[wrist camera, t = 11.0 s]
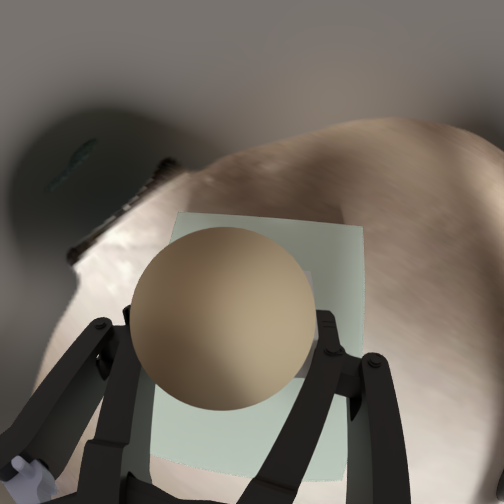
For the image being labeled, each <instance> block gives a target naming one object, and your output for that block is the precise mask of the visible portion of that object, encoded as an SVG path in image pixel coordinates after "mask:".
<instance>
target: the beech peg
mask: <svg viewBox="0 0 504 504" xmlns="http://www.w3.org/2000/svg"><path fill="white" fill-rule="evenodd" d="M315 325H316V310H315V303H314V297H313V294H312V290H311V287H310V284H309V282H308V280H307V277H306V275H305V274H304V272H303V270H302V269H301V267H300V266H299V264H298V263H297V262H296V261H295V259H294V258H293V257H292V256H291V255H290V254H289V253H288V252H287V251H286V250H285V249H284V248H283V247H281V246H280V245H279V244H277V243H276V242H275V241H273V240H271V239H269V238H267V237H266V236H264V235H261V234H259V233H256V232H254V231H250V230H246V229H242V228H235V227H214V228H207V229H202V230H198V231H195V232H192V233H189V234H187V235H185V236H183V237H181V238H179V239H177V240H175V241H174V242H172V243H171V244H169V245H168V246H166V247H165V248H164V249H163V250H162V251H160V252H159V253H158V254H157V255H156V256H155V257H154V259H153V260H152V261H151V262H150V263H149V265H148V266H147V267H146V269H145V270H144V272H143V274H142V275H141V277H140V279H139V281H138V284H137V286H136V288H135V291H134V295H133V298H132V303H131V309H130V331H131V338H132V342H133V346H134V349H135V352H136V354H137V357H138V359H139V361H140V363H141V365H142V366H143V368H144V370H145V371H146V372H147V374H148V375H149V377H150V378H151V379H152V380H153V381H154V382H155V383H156V384H157V385H158V386H159V387H160V388H161V389H162V390H164V391H165V392H166V393H167V394H169V395H170V396H172V397H174V398H175V399H177V400H179V401H181V402H183V403H185V404H188V405H190V406H193V407H197V408H201V409H206V410H213V411H230V410H237V409H243V408H246V407H250V406H253V405H256V404H258V403H260V402H262V401H265V400H267V399H268V398H270V397H271V396H273V395H275V394H276V393H278V392H279V391H280V390H281V389H282V388H284V387H285V386H286V385H287V384H288V383H289V382H290V381H291V380H292V379H293V377H294V376H295V375H296V374H297V373H298V371H299V370H300V368H301V367H302V365H303V363H304V362H305V360H306V358H307V355H308V353H309V351H310V348H311V345H312V342H313V338H314V332H315Z"/></svg>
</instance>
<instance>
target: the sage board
mask: <svg viewBox="0 0 504 504" xmlns="http://www.w3.org/2000/svg"><path fill="white" fill-rule="evenodd" d="M214 227H235V228H242V229H246V230H250V231H254V232H256V233H259V234H261V235H264V236H266V237H267V238H269V239H271V240H273V241H275V242H276V243H277V244H279V245H280V246H281V247H283V248H284V249H285V250H286V251H287V252H288V253H289V254H290V255H291V256H292V257H293V258H294V259H295V261H296V262H297V263H298V264H299V266H300V267H301V269H302V270H303V271H311V276H312V283H313V291H314V300H315V308H316V310H330V311H331V312H332V313H333V315H334V316H335V320H336V325H337V330H338V335H339V340H340V345H341V346H343V347H344V349H345V352H346V353H347V354H349V355H352V356H355V357H358V358H362V350H363V333H364V303H365V274H364V243H363V227H361V226H352V225H343V224H333V223H324V222H313V221H303V220H292V219H280V218H268V217H255V216H241V215H226V214H210V213H192V212H178V214H177V218H176V221H175V225H174V228H173V232H172V236H171V239H170V243H169V244H171V243H172V242H174V241H175V240H177V239H179V238H181V237H183V236H185V235H187V234H189V233H192V232H195V231H198V230H202V229H207V228H214ZM304 380H305V378H293V379H292V380H291V381H290V382H289V383H288V384H287V385H286V386H285V387H284V388H282V389H281V390H280V391H279V392H278V393H276V394H275V395H273V396H271V397H270V398H268V399H267V400H265V401H262V402H260V403H258V404H256V405H253V406H250V407H246V408H243V409H237V410H230V411H213V410H206V409H201V408H197V407H193V406H190V405H188V404H185V403H183V402H181V401H179V400H177V399H175V398H174V397H172V396H170V395H169V394H167V393H166V392H165V391H164V390H162V389H161V388H160V387H159V386H158V385H157V384H156V386H155V395H154V405H153V416H152V428H151V443H150V455H153V456H156V457H159V458H162V459H165V460H169V461H172V462H176V463H179V464H183V465H187V466H191V467H195V468H199V469H203V470H208V471H213V472H218V473H223V474H229V475H235V476H241V477H249V478H254V477H255V476H256V475H257V473H258V471H259V470H260V468H261V466H262V464H263V463H264V461H265V459H266V457H267V456H268V454H269V452H270V450H271V448H272V446H273V444H274V443H275V441H276V439H277V437H278V435H279V433H280V431H281V429H282V427H283V425H284V423H285V421H286V419H287V417H288V415H289V413H290V411H291V409H292V407H293V404H294V402H295V400H296V398H297V396H298V394H299V391H300V389H301V387H302V385H303V382H304ZM347 453H348V449H347V407H346V397H344V396H340V395H337V394H334V397H333V400H332V403H331V406H330V409H329V412H328V415H327V418H326V421H325V424H324V427H323V430H322V433H321V435H320V438H319V441H318V443H317V446H316V448H315V451H314V453H313V456H312V458H311V461H310V463H309V466H308V468H307V470H306V473H305V475H304V477H303V479H302V481H342V479H343V475H344V471H345V467H346V462H347Z"/></svg>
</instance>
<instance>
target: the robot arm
mask: <svg viewBox="0 0 504 504" xmlns="http://www.w3.org/2000/svg"><path fill="white" fill-rule="evenodd" d="M303 272H304V274H305V275H306V277H307V280H308V282H309V284H310V287H311V290H312V294H313V297H314V291H313V283H312V276H311V271H303ZM314 303H315V300H314ZM130 309H131V305H128V306H127V307H125V308H124V309H123V315H124V320H125V324H126V325H123V326H113V324H112V321H111V320H110V319H109V318H106V317H100V318H97V319H94V320H93V321H92V322H91V323H90V324H89V325H88V326H87V327H86V328H85V329H84V331H83V332H82V333H81V334H80V335H79V337H78V338H77V339H76V340H75V341H74V343H73V344H72V345H71V346H70V347H69V349H68V350H67V351H66V352H65V353H64V355H63V356H62V357H61V358H60V360H59V361H58V362H57V363H56V365H55V366H54V367H53V369H52V370H51V371H50V372H49V374H48V375H47V376H46V378H45V379H44V380H43V382H42V383H41V384H40V386H39V387H38V388H37V390H36V391H35V392H34V394H33V395H32V397H31V398H30V399H29V401H28V402H27V404H26V405H25V406H24V408H23V410H22V411H21V412H20V414H19V415H18V417H17V418H16V420H15V421H14V423H13V424H12V426H11V427H10V428H8V429H7V430H6V431H5V432H3V433H2V434H1V435H0V481H1V482H2V483H3V484H4V485H5V487H6V489H7V490H8V492H9V493H10V495H11V496H12V497H13V499H14V500H15V502H16V503H17V504H227V503H221V502H216V501H211V500H183V499H178V498H175V497H174V496H172V495H170V494H168V493H166V492H165V491H163V490H161V489H159V488H158V487H156V486H154V485H152V479H151V476H150V471H149V465H150V443H151V428H152V416H153V405H154V395H155V386H156V383H155V382H154V381H153V380H152V379H151V378H150V377H149V375H148V374H147V372H146V371H145V370H144V368H143V366H142V365H141V363H140V361H139V359H138V357H137V354H136V352H135V349H134V346H133V342H132V338H131V331H130ZM315 310H316V308H315ZM98 354H99V356H98ZM97 356H98V358H97ZM293 378H305V380H304V382H303V385H302V387H301V389H300V391H299V394H298V396H297V398H296V400H295V402H294V404H293V407H292V409H291V411H290V413H289V415H288V417H287V419H286V421H285V423H284V425H283V427H282V429H281V431H280V433H279V435H278V437H277V439H276V441H275V443H274V444H273V446H272V448H271V450H270V452H269V454H268V456H267V457H266V459H265V461H264V463H263V464H262V466H261V468H260V470H259V471H258V473H257V475H256V476H255V477H254V478H253V479H252V480H251V481H250V483H249V485H248V486H247V488H246V489H245V491H244V492H243V494H242V496H241V497H240V499H239V500H238V502H237V503H236V504H292V503H293V501H294V499H295V497H296V495H297V492H298V488H299V486H300V484H301V482H302V479H303V477H304V475H305V473H306V470H307V468H308V466H309V463H310V461H311V458H312V456H313V453H314V451H315V448H316V446H317V443H318V441H319V438H320V435H321V433H322V430H323V427H324V424H325V421H326V418H327V415H328V412H329V409H330V406H331V403H332V400H333V397H334V394H337V395H340V396H344V397H346V407H347V449H348V453H347V493H346V504H411V495H410V483H409V472H408V464H407V456H406V448H405V442H404V435H403V429H402V424H401V418H400V413H399V408H398V403H397V398H396V394H395V389H394V385H393V380H392V376H391V372H390V368H389V364H388V361H387V359H386V358H385V357H384V356H383V355H381V354H378V353H374V352H372V353H367V354H365V355H364V356H363V357H362V358H358V357H355V356H352V355H349V354H347V353H346V352H345V349H344V347H343V346H341V345H340V340H339V335H338V330H337V325H336V320H335V316H334V315H333V313H332V312H331V311H330V310H316V325H315V332H314V338H313V342H312V345H311V348H310V351H309V353H308V355H307V358H306V360H305V362H304V363H303V365H302V367H301V368H300V370H299V371H298V373H297V374H296V375H295V376H294V377H293ZM103 396H104V398H103ZM102 398H103V402H102V406H101V410H100V414H99V418H98V423H97V427H96V432H95V436H94V438H93V439H92V440H88V441H87V442H86V444H85V447H84V452H83V457H82V462H81V468H80V474H79V481H78V488H77V492H74V493H72V494H69V495H66V496H63V497H60V498H56V499H53V500H51V495H56V494H57V493H58V487H57V485H56V484H55V480H56V479H57V478H58V477H59V476H60V474H61V473H62V472H63V470H64V469H65V467H66V465H67V463H68V461H69V459H70V457H71V455H72V453H73V451H74V450H75V448H76V446H77V444H78V442H79V440H80V438H81V436H82V434H83V432H84V430H85V428H86V427H87V425H88V423H89V421H90V419H91V417H92V416H93V414H94V412H95V410H96V408H97V407H98V405H99V403H100V401H101V399H102ZM497 498H498V500H500V501H503V502H504V471H503V474H502V476H501V479H500V481H499V485H498V489H497Z"/></svg>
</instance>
